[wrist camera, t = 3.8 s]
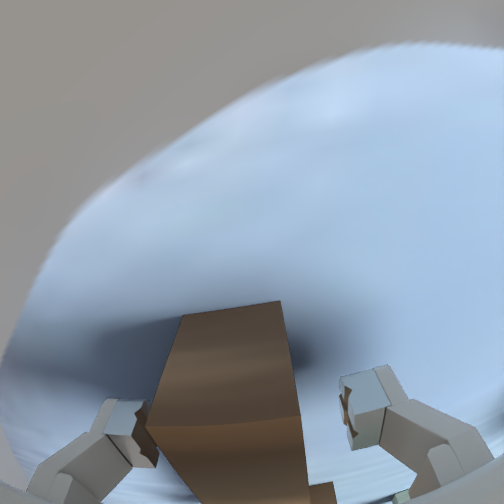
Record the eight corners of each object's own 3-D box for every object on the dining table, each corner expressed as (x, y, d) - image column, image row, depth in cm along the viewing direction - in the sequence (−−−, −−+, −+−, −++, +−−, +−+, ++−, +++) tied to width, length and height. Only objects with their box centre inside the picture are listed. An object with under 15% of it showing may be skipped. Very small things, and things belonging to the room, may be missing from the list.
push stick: (332, 490, 14) (343, 550, 9) (233, 502, 14) (231, 561, 10) (329, 290, 9) (380, 396, 5) (140, 319, 9) (85, 422, 5)
